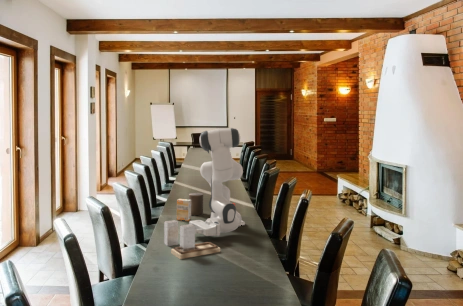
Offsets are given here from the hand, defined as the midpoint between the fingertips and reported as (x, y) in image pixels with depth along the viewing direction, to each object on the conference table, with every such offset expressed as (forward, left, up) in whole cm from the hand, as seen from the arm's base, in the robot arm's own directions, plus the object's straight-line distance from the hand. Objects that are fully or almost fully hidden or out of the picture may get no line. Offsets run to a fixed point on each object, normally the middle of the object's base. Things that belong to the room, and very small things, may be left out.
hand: (189, 229), depth 233 cm
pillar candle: (-32, -52, -7) cm, 61 cm away
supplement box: (-18, -42, -7) cm, 46 cm away
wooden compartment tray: (+5, +18, -6) cm, 20 cm away
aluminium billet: (+10, 0, -6) cm, 12 cm away
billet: (+10, +18, -4) cm, 21 cm away
